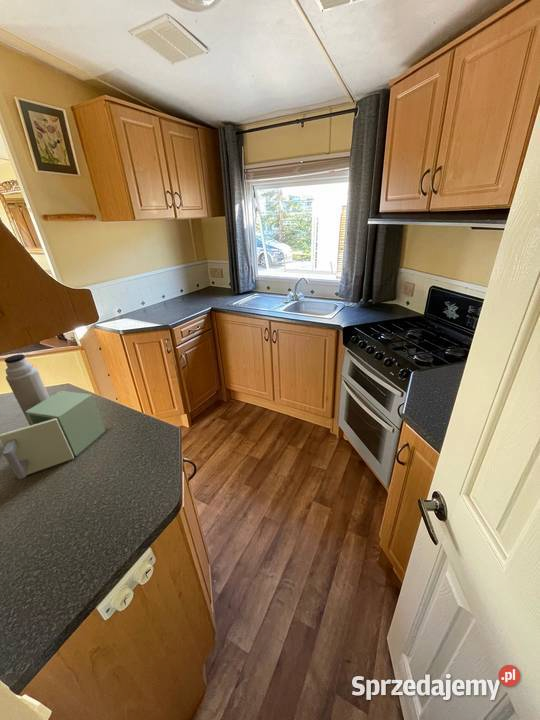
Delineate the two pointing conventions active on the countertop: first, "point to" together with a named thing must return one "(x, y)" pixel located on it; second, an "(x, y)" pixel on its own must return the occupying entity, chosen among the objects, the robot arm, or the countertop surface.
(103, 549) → the countertop surface
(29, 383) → the thermos bottle
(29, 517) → the countertop surface
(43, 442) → the machine door
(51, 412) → the box
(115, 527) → the countertop surface
